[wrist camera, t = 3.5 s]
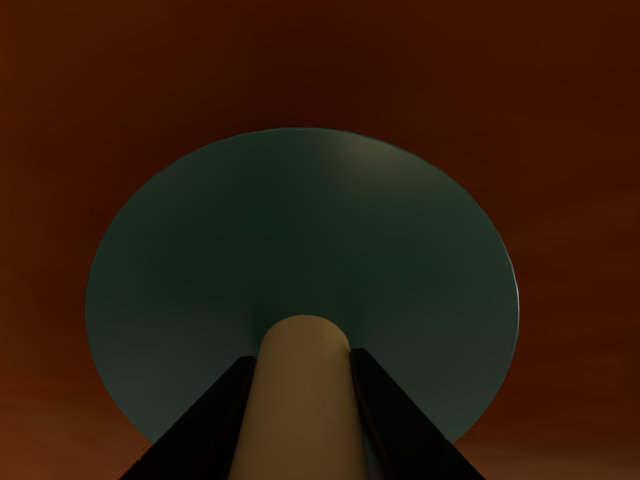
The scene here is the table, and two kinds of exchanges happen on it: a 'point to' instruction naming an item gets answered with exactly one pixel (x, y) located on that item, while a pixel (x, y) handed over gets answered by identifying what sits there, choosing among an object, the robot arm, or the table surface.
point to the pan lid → (301, 294)
